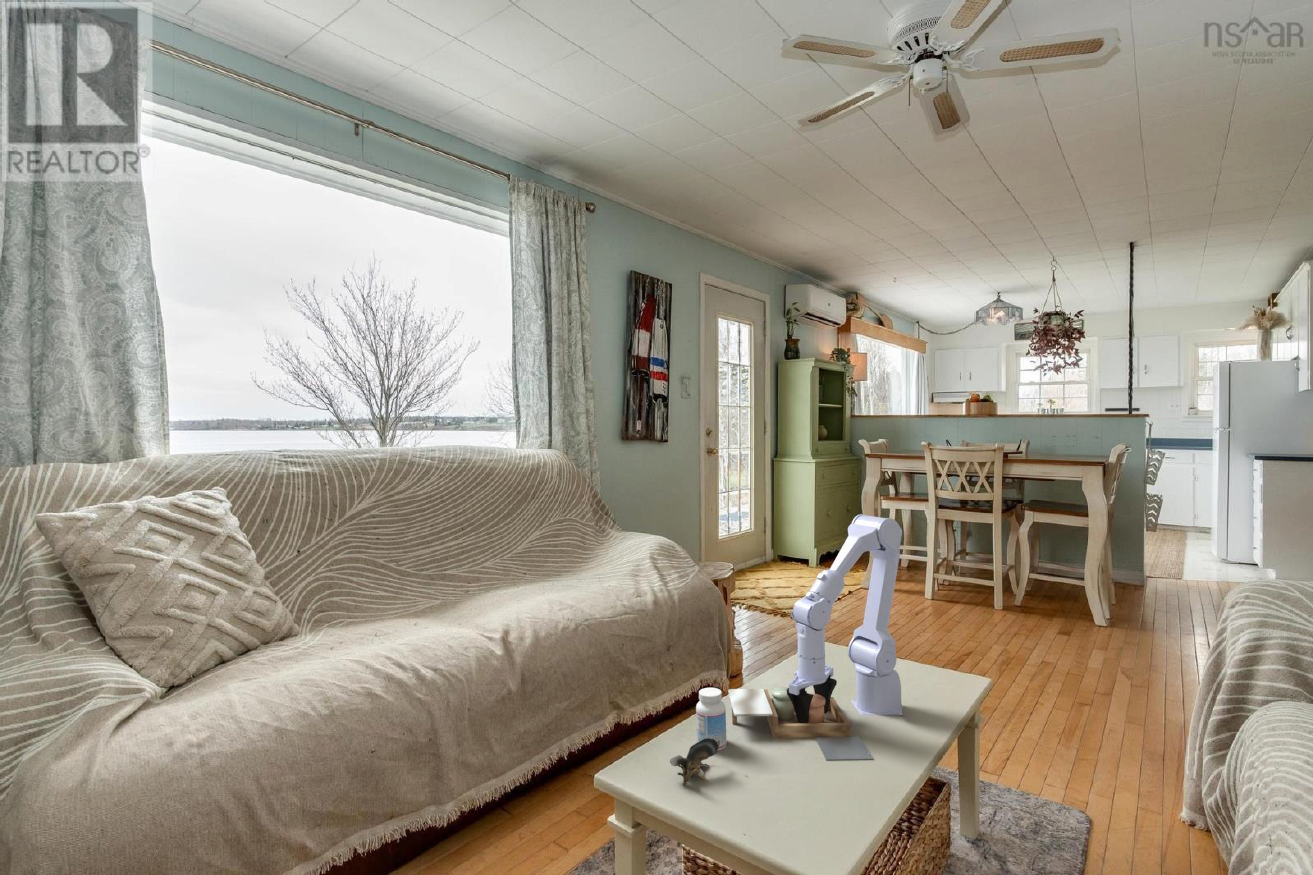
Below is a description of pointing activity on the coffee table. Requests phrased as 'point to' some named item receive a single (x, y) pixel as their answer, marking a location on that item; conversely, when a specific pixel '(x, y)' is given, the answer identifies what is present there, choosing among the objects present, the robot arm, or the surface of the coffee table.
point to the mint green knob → (783, 704)
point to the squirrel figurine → (695, 758)
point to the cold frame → (763, 705)
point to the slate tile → (843, 748)
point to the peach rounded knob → (816, 709)
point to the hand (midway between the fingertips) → (812, 717)
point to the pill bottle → (711, 716)
